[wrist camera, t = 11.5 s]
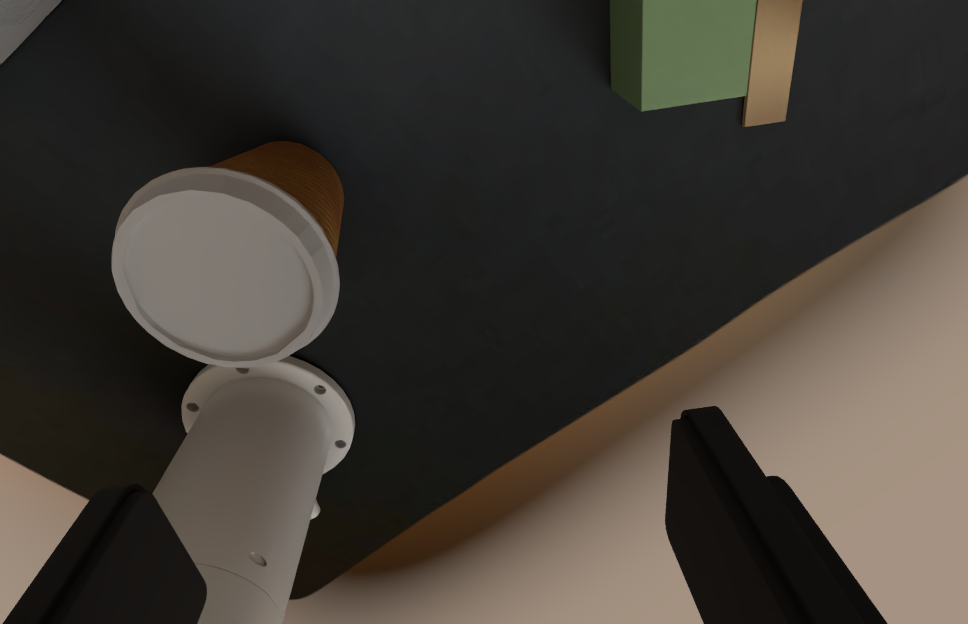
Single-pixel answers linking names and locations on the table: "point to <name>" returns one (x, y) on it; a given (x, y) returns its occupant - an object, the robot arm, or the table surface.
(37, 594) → the robot arm
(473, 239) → the table surface
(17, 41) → the skincare box
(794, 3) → the strip
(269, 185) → the disposable coffee cup
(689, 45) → the green box
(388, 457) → the table surface
